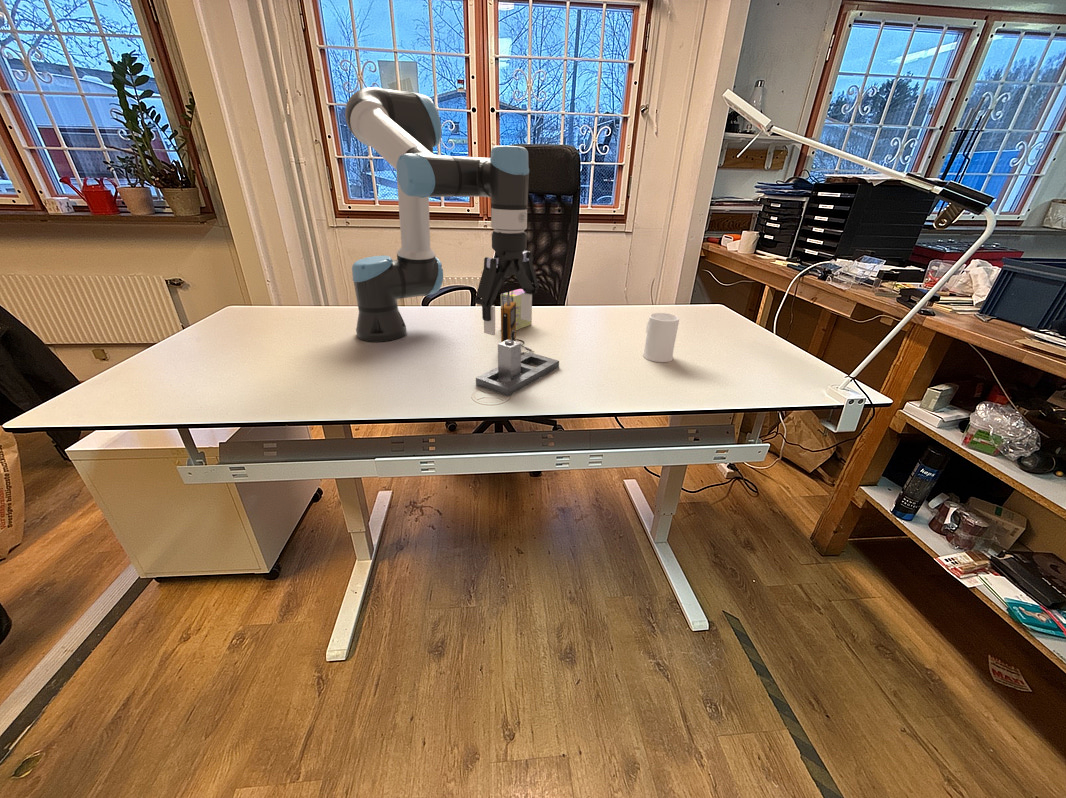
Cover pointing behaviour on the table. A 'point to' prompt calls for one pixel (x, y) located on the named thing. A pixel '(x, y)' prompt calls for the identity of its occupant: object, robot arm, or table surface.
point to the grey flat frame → (522, 381)
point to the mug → (660, 337)
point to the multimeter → (509, 319)
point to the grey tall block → (509, 361)
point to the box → (516, 298)
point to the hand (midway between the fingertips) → (508, 326)
